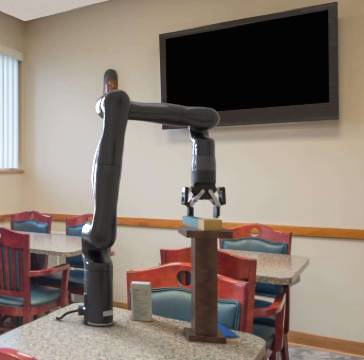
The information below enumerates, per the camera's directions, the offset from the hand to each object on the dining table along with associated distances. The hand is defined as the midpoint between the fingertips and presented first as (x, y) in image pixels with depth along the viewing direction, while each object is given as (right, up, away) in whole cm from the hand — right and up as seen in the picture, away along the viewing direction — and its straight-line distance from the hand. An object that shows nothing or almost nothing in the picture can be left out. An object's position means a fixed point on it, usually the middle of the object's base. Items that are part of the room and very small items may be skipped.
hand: (203, 218), depth 163 cm
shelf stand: (-8, -34, -19) cm, 40 cm away
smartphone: (-1, -34, -11) cm, 36 cm away
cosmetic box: (-20, -34, 0) cm, 40 cm away
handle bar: (-7, -2, -13) cm, 15 cm away
